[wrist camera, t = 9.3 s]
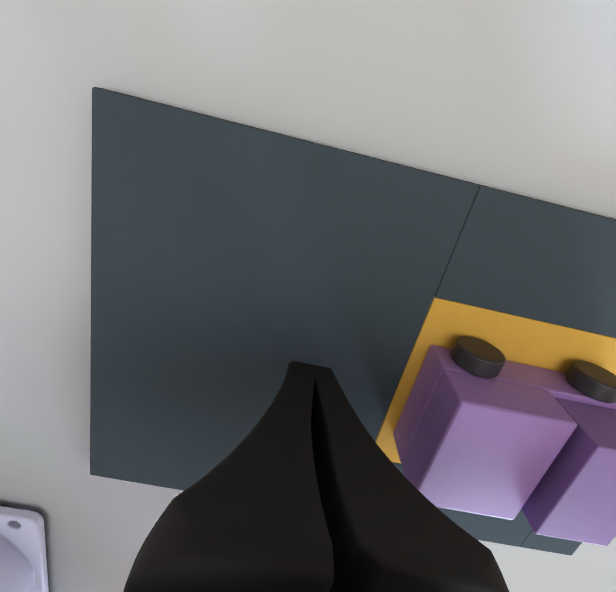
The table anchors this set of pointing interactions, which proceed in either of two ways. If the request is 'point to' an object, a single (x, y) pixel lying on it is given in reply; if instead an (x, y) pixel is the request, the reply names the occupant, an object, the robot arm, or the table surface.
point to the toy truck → (513, 440)
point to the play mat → (308, 287)
